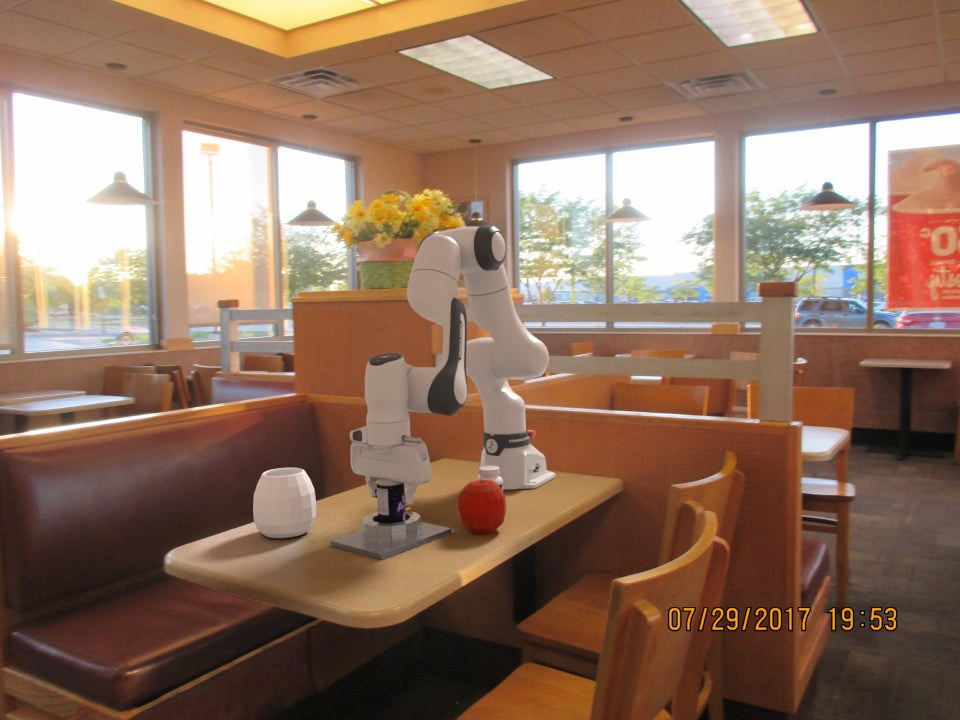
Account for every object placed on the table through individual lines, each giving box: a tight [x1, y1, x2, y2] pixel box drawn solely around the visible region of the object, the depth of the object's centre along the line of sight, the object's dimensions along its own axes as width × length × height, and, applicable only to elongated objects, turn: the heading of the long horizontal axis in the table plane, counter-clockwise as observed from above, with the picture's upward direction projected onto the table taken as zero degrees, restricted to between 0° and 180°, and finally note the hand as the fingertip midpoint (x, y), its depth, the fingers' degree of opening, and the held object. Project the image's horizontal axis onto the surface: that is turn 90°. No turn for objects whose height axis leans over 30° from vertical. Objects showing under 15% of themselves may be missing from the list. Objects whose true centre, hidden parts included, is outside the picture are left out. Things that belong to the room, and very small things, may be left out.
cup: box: [252, 467, 317, 539], centre depth 161 cm, size 13×13×14 cm
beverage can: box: [376, 478, 406, 523], centre depth 155 cm, size 6×6×12 cm
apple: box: [457, 478, 507, 535], centre depth 159 cm, size 10×10×12 cm
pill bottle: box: [475, 466, 504, 492], centre depth 171 cm, size 6×6×11 cm
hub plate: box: [329, 507, 452, 561], centre depth 155 cm, size 20×15×5 cm
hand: (391, 500), depth 155 cm, fingers open, 8 cm apart
